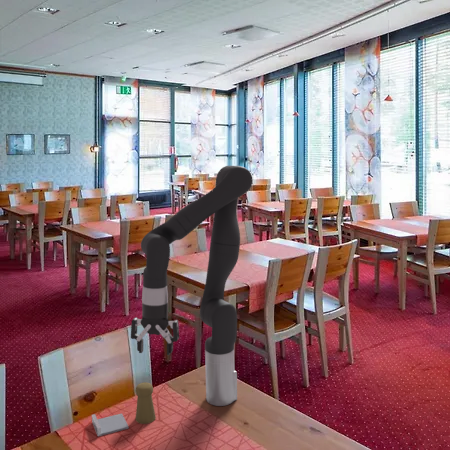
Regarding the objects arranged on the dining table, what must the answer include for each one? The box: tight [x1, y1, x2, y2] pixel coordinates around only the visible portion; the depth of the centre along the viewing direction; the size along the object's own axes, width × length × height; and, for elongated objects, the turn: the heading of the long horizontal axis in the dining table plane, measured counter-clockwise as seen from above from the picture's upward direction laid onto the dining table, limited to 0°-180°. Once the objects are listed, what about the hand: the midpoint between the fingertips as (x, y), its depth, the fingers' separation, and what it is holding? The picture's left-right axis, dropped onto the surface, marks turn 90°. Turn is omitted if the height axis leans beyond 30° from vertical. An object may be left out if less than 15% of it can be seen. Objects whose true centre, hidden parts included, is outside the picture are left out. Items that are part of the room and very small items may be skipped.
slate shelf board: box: [97, 413, 129, 437], centre depth 149 cm, size 8×8×1 cm
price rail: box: [91, 413, 101, 437], centre depth 147 cm, size 1×8×2 cm, turn 25°
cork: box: [135, 381, 157, 425], centre depth 151 cm, size 6×6×11 cm
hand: (154, 353), depth 151 cm, fingers open, 8 cm apart
